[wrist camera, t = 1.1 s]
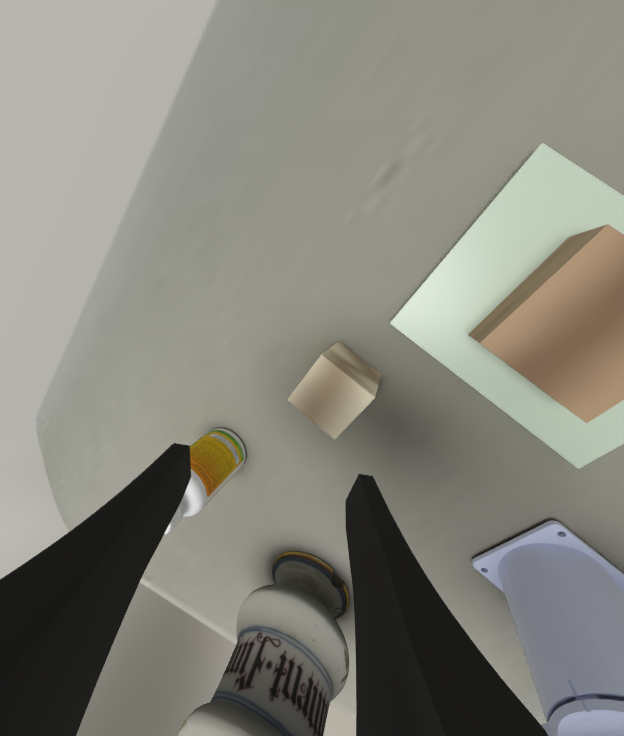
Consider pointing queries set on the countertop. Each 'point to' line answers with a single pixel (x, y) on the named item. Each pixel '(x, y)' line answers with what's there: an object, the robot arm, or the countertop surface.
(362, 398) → the maple brick
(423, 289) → the baseplate
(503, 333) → the base block
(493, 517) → the countertop surface
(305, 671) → the apothecary jar
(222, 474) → the supplement bottle
